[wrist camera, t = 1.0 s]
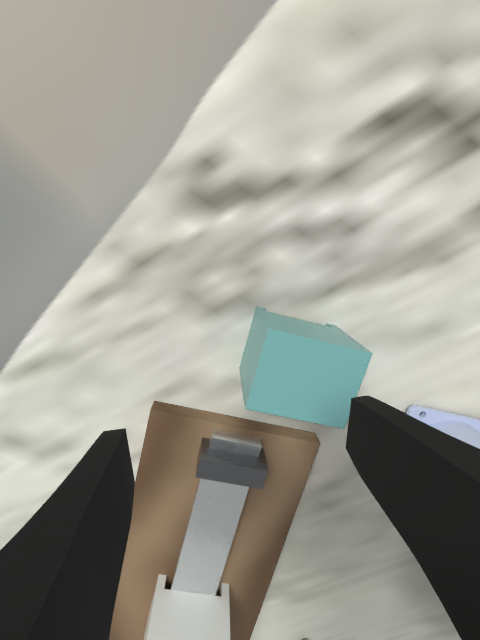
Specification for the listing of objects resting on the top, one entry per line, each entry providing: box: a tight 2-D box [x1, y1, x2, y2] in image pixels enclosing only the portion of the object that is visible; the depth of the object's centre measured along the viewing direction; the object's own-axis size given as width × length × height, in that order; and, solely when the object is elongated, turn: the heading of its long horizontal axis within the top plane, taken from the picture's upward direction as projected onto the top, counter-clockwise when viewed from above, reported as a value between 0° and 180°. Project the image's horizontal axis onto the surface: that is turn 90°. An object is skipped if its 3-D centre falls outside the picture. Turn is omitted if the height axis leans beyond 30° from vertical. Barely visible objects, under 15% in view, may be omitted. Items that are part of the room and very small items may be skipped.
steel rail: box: [169, 429, 268, 596], centre depth 23 cm, size 4×21×2 cm, turn 165°
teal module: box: [240, 306, 372, 429], centre depth 19 cm, size 6×4×6 cm
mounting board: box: [109, 401, 320, 640], centre depth 25 cm, size 12×22×1 cm, turn 166°
